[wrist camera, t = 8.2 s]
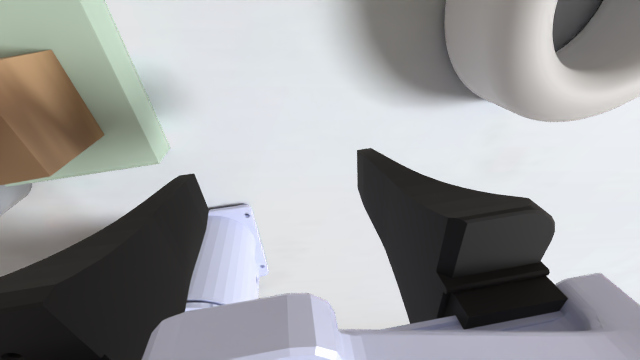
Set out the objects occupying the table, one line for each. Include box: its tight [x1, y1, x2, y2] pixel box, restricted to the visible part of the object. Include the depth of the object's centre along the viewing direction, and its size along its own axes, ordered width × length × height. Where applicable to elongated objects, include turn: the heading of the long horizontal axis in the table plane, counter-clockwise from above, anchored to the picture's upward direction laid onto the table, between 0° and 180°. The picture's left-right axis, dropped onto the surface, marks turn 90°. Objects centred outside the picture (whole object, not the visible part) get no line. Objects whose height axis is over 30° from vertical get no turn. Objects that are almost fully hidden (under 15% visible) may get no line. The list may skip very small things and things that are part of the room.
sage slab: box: [0, 0, 170, 187], centre depth 17 cm, size 10×10×3 cm
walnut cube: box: [0, 50, 104, 185], centre depth 14 cm, size 5×5×5 cm
